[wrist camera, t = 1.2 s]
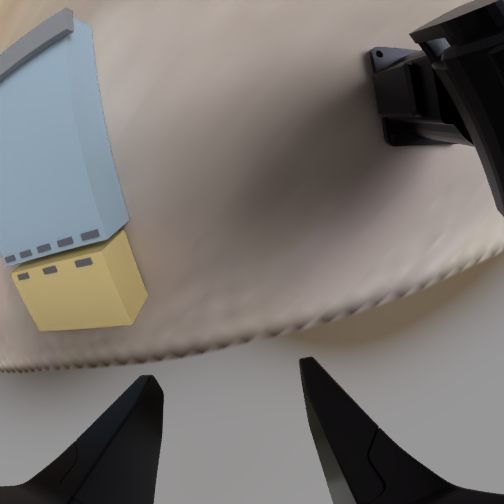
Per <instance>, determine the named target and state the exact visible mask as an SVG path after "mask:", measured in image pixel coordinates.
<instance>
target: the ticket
mask: <svg viewBox="0 0 504 504" xmlns="http://www.w3.org/2000/svg"><path fill="white" fill-rule="evenodd" d="M129 220H130V218H129V215H128V212H127V208H126V205H125V202H124V198H123V195H122V191H121V187H120V184H119V180H118V176H117V172H116V168H115V164H114V160H113V156H112V152H111V148H110V143H109V139H108V134H107V130H106V125H105V120H104V115H103V109H102V104H101V98H100V92H99V86H98V79H97V72H96V65H95V57H94V48H93V38H92V28H91V27H90V26H88V25H86V24H84V23H82V22H80V21H78V20H76V19H74V18H73V11H72V10H70V9H68V8H65V9H63V10H61V11H60V12H58V13H57V14H55V15H53V16H52V17H50V18H49V19H47V20H46V21H44V22H43V23H41V24H40V25H38V26H37V27H35V28H34V29H32V30H31V31H30V32H28V33H27V34H26V35H24V36H23V37H22V38H20V39H19V40H18V41H16V42H15V43H14V44H13V45H11V46H10V47H9V48H8V49H6V50H5V51H4V52H3V53H2V54H1V55H0V252H1V255H2V258H3V260H4V262H5V265H6V267H8V266H11V265H15V264H18V263H22V262H25V261H28V260H32V259H35V258H39V257H42V256H46V255H50V254H53V253H57V252H61V251H64V250H68V249H72V248H76V247H80V246H83V245H87V244H91V243H95V242H99V241H103V240H107V239H108V238H110V237H111V236H112V235H113V234H114V233H115V232H116V231H118V230H119V229H120V228H121V227H122V226H123V225H124V224H126V223H127V222H128V221H129Z"/></svg>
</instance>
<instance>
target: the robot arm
mask: <svg viewBox="0 0 504 504" xmlns="http://www.w3.org/2000/svg"><path fill="white" fill-rule="evenodd" d="M409 35H410V36H411V38H412V39H413V40H414V42H415V43H416V44H417V43H418V44H419V45H420V47H421V48H422V50H421V51H417V50H409V49H400V48H388V47H375V48H373V49H371V51H370V58H371V62H372V67H373V71H374V75H373V76H372V79H373V84H374V89H375V95H376V100H377V107H378V113H379V115H380V116H381V117H382V123H383V130H384V138H385V142H386V143H387V144H388V145H390V146H409V145H432V144H463V145H469V146H474V147H475V148H476V150H477V153H478V155H479V158H480V160H481V163H482V165H483V168H484V171H485V174H486V176H487V180H488V183H489V186H490V188H491V191H492V194H493V197H494V200H495V204H496V207H497V209H498V211H499V212H500V213H501V214H502V215H503V216H504V0H474V1H472V2H469V3H467V4H464V5H462V6H459V7H457V8H455V9H453V10H451V11H449V12H447V13H445V14H444V15H442V16H440V17H438V18H436V19H434V20H432V21H431V22H429V23H427V24H425V25H424V26H422V27H420V28H418V29H417V30H415V31H413V32H411V33H410V34H409ZM376 52H378V53H379V54H380V57H378V56H377V55H376ZM392 135H394V137H395V140H394V141H393V142H392V141H391V136H392ZM299 366H300V374H301V381H302V387H303V393H304V399H305V405H306V411H307V417H308V422H309V426H310V430H311V433H312V436H313V440H314V443H315V446H316V449H317V452H318V456H319V459H320V462H321V465H322V468H323V472H324V475H325V478H326V481H327V485H328V488H329V491H330V494H331V497H332V500H333V504H504V494H496V493H489V492H483V491H476V490H471V489H466V488H462V487H459V486H456V485H453V484H451V483H449V482H447V481H446V480H444V479H443V478H441V477H440V476H438V475H437V474H435V473H434V472H433V471H431V470H430V469H428V468H427V467H426V466H424V465H423V464H421V463H420V462H418V461H417V460H416V459H414V458H413V457H412V456H411V455H409V454H408V453H407V452H406V451H404V450H403V449H402V448H401V447H399V446H398V445H397V444H396V443H395V442H394V441H393V440H392V439H391V438H390V437H389V436H388V435H387V434H386V433H385V432H384V431H383V430H382V429H381V428H379V426H378V425H377V424H376V423H375V422H374V421H373V420H372V419H371V418H370V417H369V416H368V415H367V414H366V413H365V412H364V411H363V410H362V409H361V408H360V407H359V405H358V404H357V403H356V402H355V401H354V400H353V399H352V398H351V397H350V396H349V395H348V394H347V393H346V392H345V391H344V390H343V389H342V388H341V386H340V385H338V383H337V382H336V381H335V380H334V379H333V378H332V377H331V376H330V375H329V374H328V373H327V372H326V370H325V369H324V368H323V367H322V366H321V365H320V364H319V363H318V362H317V361H316V360H315V359H314V358H313V357H305V358H301V359H300V360H299ZM163 404H164V394H163V391H162V389H161V387H160V385H159V384H158V382H157V380H156V379H155V377H154V376H153V375H141V376H140V377H139V378H138V379H137V380H136V381H135V382H134V383H133V384H132V385H131V386H130V387H129V388H128V389H127V390H126V391H125V392H124V393H123V394H122V395H121V396H120V397H119V398H118V399H117V400H116V401H115V402H114V403H113V404H112V405H111V406H110V407H109V408H108V409H107V410H106V411H105V412H104V413H103V414H102V415H101V416H100V417H99V418H98V419H97V420H96V421H95V422H94V423H93V424H92V425H91V426H90V427H89V428H88V429H87V430H86V431H85V432H84V433H83V434H82V435H81V436H80V437H79V438H78V439H77V440H76V441H75V442H74V443H73V444H72V445H71V446H70V447H68V448H67V449H66V450H65V451H64V452H63V453H62V454H61V455H60V456H59V457H58V458H57V459H55V460H54V461H53V462H52V463H51V464H50V465H48V466H47V467H46V468H44V469H43V470H42V471H41V472H39V473H38V474H37V475H35V476H34V477H33V478H32V479H30V480H29V481H27V482H25V483H23V484H20V485H16V486H2V487H1V486H0V504H153V503H154V494H155V485H156V477H157V469H158V461H159V454H160V447H161V441H162V440H161V439H162V428H163ZM378 428H379V429H378Z"/></svg>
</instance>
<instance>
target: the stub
mask: <svg viewBox="0 0 504 504" xmlns="http://www.w3.org/2000/svg"><path fill="white" fill-rule="evenodd" d="M11 276H12V278H13V281H14V283H15V285H16V287H17V289H18V291H19V293H20V295H21V297H22V299H23V301H24V303H25V305H26V307H27V309H28V311H29V313H30V315H31V317H32V319H33V320H34V322H35V324H36V326H37V327H38V329H39V331H58V330H75V329H89V328H102V327H114V326H125V325H133V323H134V321H135V319H136V317H137V315H138V313H139V311H140V309H141V308H142V306H143V304H144V302H145V300H146V298H147V296H148V294H147V291H146V289H145V286H144V284H143V281H142V278H141V276H140V273H139V270H138V268H137V265H136V262H135V259H134V257H133V254H132V251H131V248H130V245H129V242H128V239H127V236H126V233H125V230H121V231H117V232H115V233H114V234H113V235H112V236H111V237H110V238H108V239H107V240H103V241H99V242H95V243H91V244H87V245H83V246H80V247H76V248H72V249H68V250H64V251H61V252H57V253H53V254H50V255H46V256H42V257H39V258H35V259H32V260H28V261H26V262H25V263H23V264H22V265H21V266H19V267H18V268H17V269H16V270H15V271H13V272H12V273H11Z"/></svg>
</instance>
